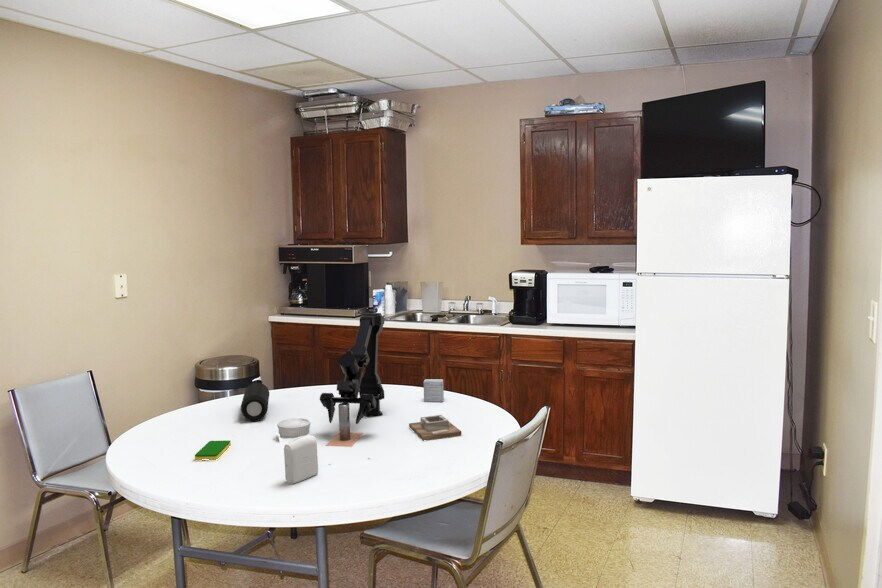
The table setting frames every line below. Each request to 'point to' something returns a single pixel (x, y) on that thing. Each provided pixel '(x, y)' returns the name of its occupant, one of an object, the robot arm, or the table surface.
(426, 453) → the table surface
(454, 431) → the board
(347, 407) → the steel peg
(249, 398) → the portable speaker
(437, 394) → the medicine box
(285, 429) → the ramekin
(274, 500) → the table surface
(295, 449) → the photo printer
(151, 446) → the table surface
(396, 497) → the table surface
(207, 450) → the dish sponge
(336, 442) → the peach flat block
